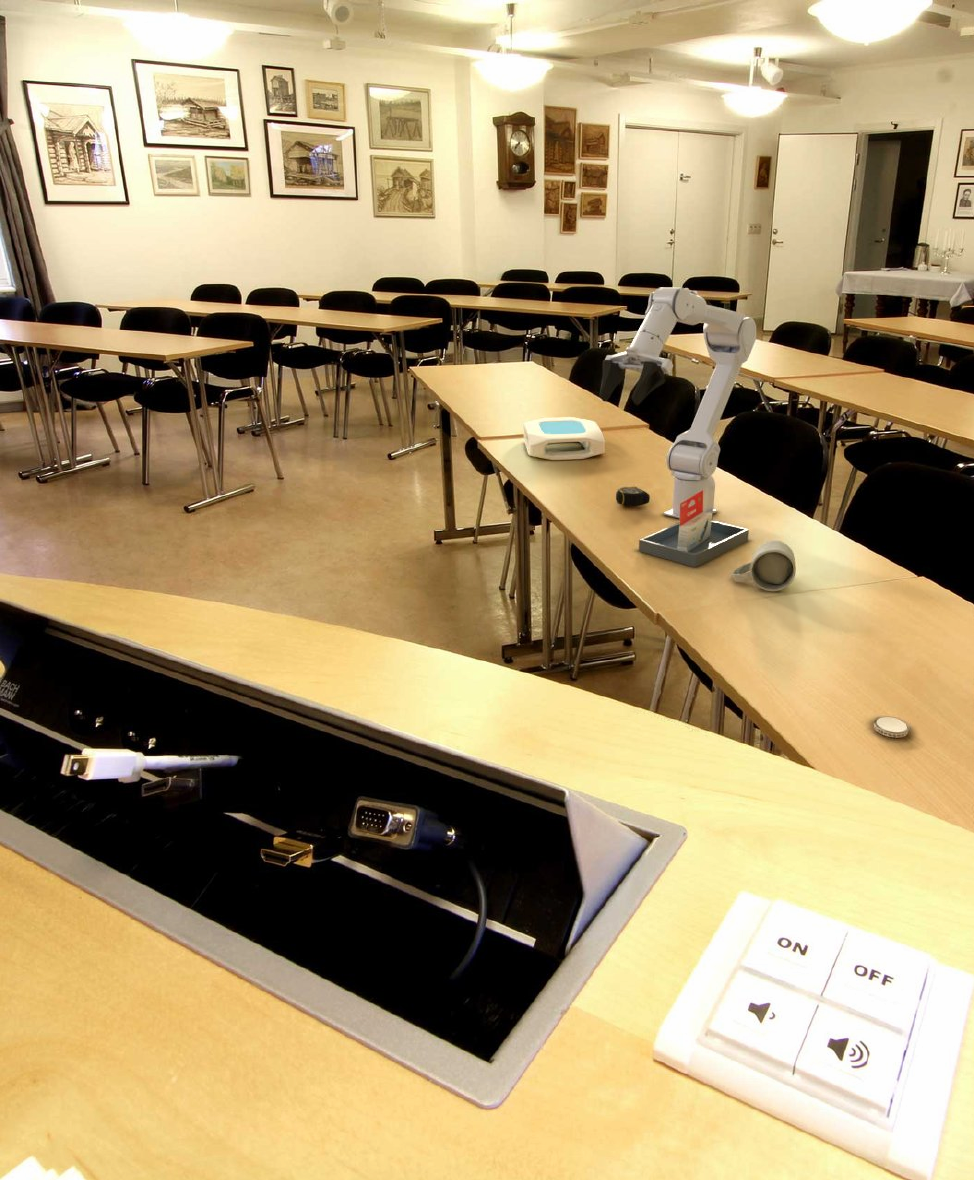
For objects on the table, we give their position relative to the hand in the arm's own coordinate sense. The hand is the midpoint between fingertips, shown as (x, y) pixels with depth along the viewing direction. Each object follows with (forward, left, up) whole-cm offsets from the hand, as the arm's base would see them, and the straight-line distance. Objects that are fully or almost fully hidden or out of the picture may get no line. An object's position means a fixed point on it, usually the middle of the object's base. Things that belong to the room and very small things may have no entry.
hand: (618, 400), depth 158 cm
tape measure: (-26, -15, -30) cm, 42 cm away
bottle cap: (+28, +67, -30) cm, 79 cm away
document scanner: (-56, -64, -30) cm, 90 cm away
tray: (-12, +11, -30) cm, 34 cm away
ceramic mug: (-4, +31, -30) cm, 44 cm away
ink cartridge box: (-12, +11, -30) cm, 34 cm away
